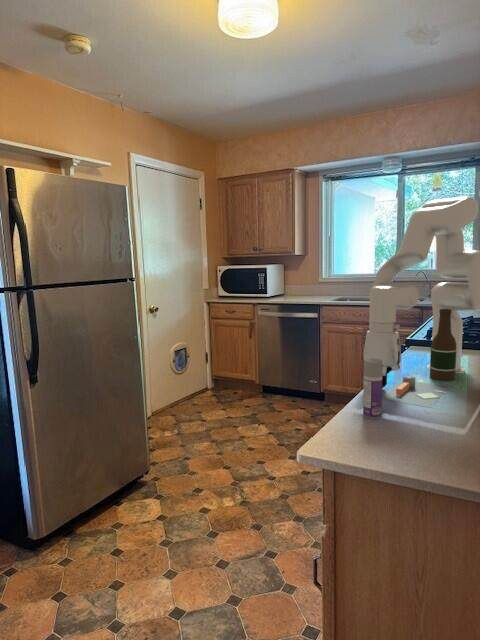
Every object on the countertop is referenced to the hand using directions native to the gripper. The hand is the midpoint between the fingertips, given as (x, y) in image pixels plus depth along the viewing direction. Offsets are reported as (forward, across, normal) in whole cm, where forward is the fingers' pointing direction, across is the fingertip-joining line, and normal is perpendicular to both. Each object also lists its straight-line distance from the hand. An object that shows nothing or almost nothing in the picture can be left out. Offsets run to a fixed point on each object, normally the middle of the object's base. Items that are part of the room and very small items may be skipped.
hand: (380, 386), depth 131 cm
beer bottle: (+2, -12, -23) cm, 26 cm away
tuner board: (+2, -9, -3) cm, 10 cm away
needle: (+1, -6, -3) cm, 7 cm away
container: (+2, -4, +19) cm, 20 cm away
